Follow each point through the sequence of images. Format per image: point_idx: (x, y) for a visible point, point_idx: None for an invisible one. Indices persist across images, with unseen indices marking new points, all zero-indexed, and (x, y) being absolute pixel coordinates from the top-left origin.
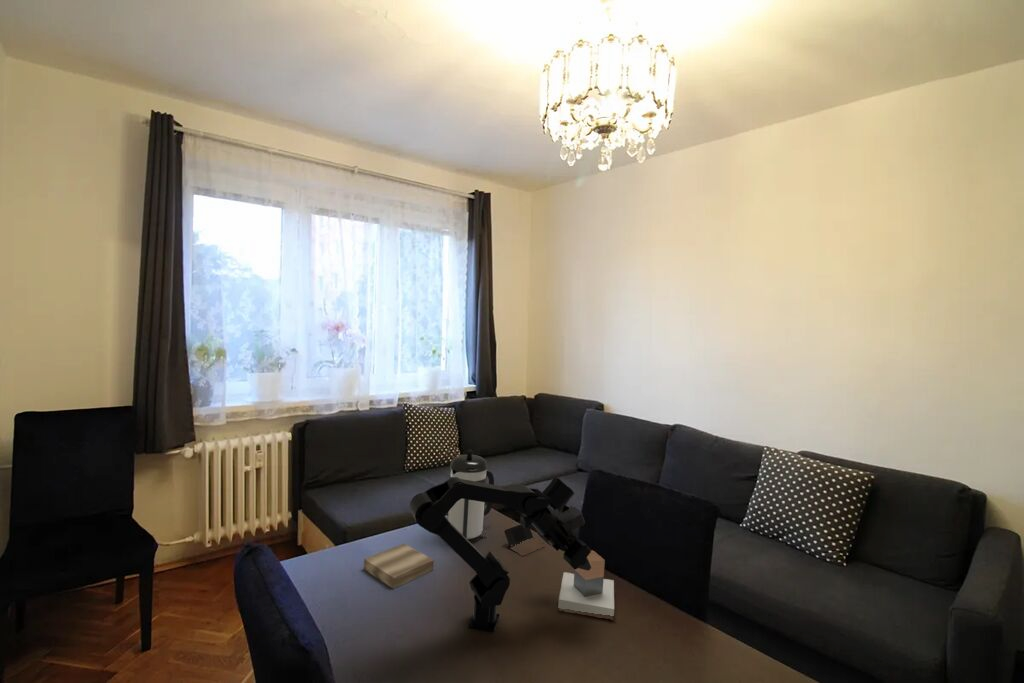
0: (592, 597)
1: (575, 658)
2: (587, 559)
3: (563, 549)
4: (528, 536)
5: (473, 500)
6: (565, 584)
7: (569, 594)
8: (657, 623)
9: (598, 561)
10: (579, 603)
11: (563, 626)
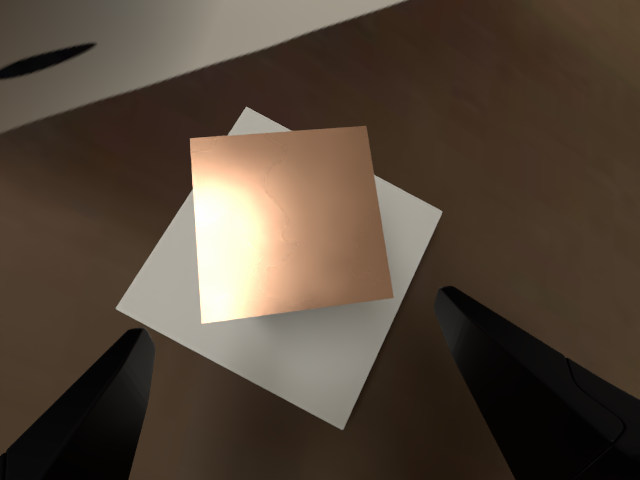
0: None
1: None
2: (583, 371)
3: (127, 453)
4: None
5: None
6: (229, 346)
7: (314, 360)
8: (451, 91)
9: (373, 184)
10: (383, 339)
11: (428, 423)
